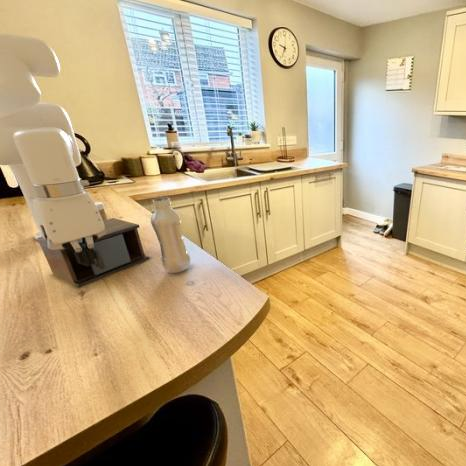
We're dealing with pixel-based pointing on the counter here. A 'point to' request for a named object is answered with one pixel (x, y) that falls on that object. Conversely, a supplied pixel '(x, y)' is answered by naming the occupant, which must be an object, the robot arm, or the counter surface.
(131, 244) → the cupboard
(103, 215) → the sprinkles bottle
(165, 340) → the counter surface
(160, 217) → the plastic bottle
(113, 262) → the sliding door
